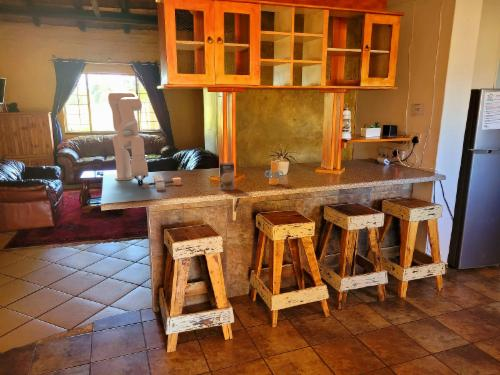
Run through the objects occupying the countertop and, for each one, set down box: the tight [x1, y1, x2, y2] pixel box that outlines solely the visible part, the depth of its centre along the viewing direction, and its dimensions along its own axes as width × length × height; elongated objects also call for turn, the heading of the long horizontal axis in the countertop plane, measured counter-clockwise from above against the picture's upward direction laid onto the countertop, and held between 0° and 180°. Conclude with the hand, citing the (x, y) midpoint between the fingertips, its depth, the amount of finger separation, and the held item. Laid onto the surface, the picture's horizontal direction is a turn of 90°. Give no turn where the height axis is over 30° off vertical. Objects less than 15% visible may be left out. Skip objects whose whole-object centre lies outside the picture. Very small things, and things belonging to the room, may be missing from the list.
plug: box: [142, 177, 182, 189], centre depth 237 cm, size 4×24×4 cm, turn 118°
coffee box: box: [219, 162, 235, 191], centre depth 227 cm, size 9×6×16 cm
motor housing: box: [152, 174, 166, 191], centre depth 235 cm, size 20×5×6 cm, turn 19°
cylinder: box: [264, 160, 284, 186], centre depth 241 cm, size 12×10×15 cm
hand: (140, 186), depth 231 cm, fingers closed
